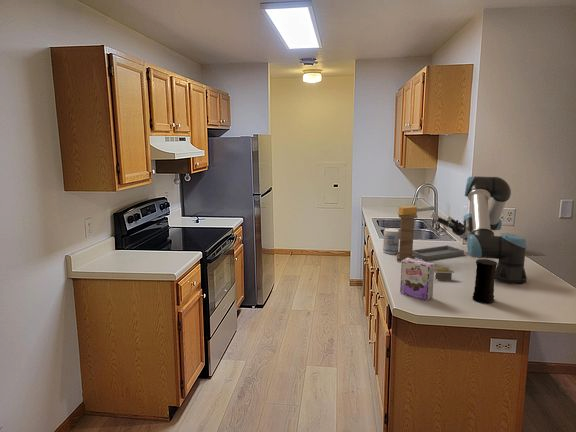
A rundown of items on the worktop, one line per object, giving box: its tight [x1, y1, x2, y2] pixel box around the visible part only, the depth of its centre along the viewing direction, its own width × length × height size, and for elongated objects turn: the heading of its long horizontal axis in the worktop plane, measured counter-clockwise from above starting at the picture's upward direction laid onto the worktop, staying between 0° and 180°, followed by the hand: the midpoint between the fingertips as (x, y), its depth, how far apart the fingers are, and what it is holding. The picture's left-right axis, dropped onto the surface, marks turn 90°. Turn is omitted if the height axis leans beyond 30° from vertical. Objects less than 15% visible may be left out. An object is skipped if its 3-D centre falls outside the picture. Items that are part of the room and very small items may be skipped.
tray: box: [412, 244, 465, 262], centre depth 258 cm, size 30×14×3 cm, turn 113°
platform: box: [434, 266, 455, 281], centre depth 214 cm, size 12×18×7 cm, turn 86°
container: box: [472, 258, 498, 305], centre depth 185 cm, size 9×9×18 cm
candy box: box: [399, 258, 436, 301], centre depth 191 cm, size 14×6×16 cm, turn 45°
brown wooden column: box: [395, 211, 418, 262], centre depth 246 cm, size 10×10×28 cm
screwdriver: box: [397, 205, 435, 215], centre depth 246 cm, size 24×4×4 cm, turn 113°
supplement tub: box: [382, 228, 400, 255], centre depth 264 cm, size 10×10×15 cm
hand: (439, 216), depth 254 cm, fingers open, 13 cm apart
